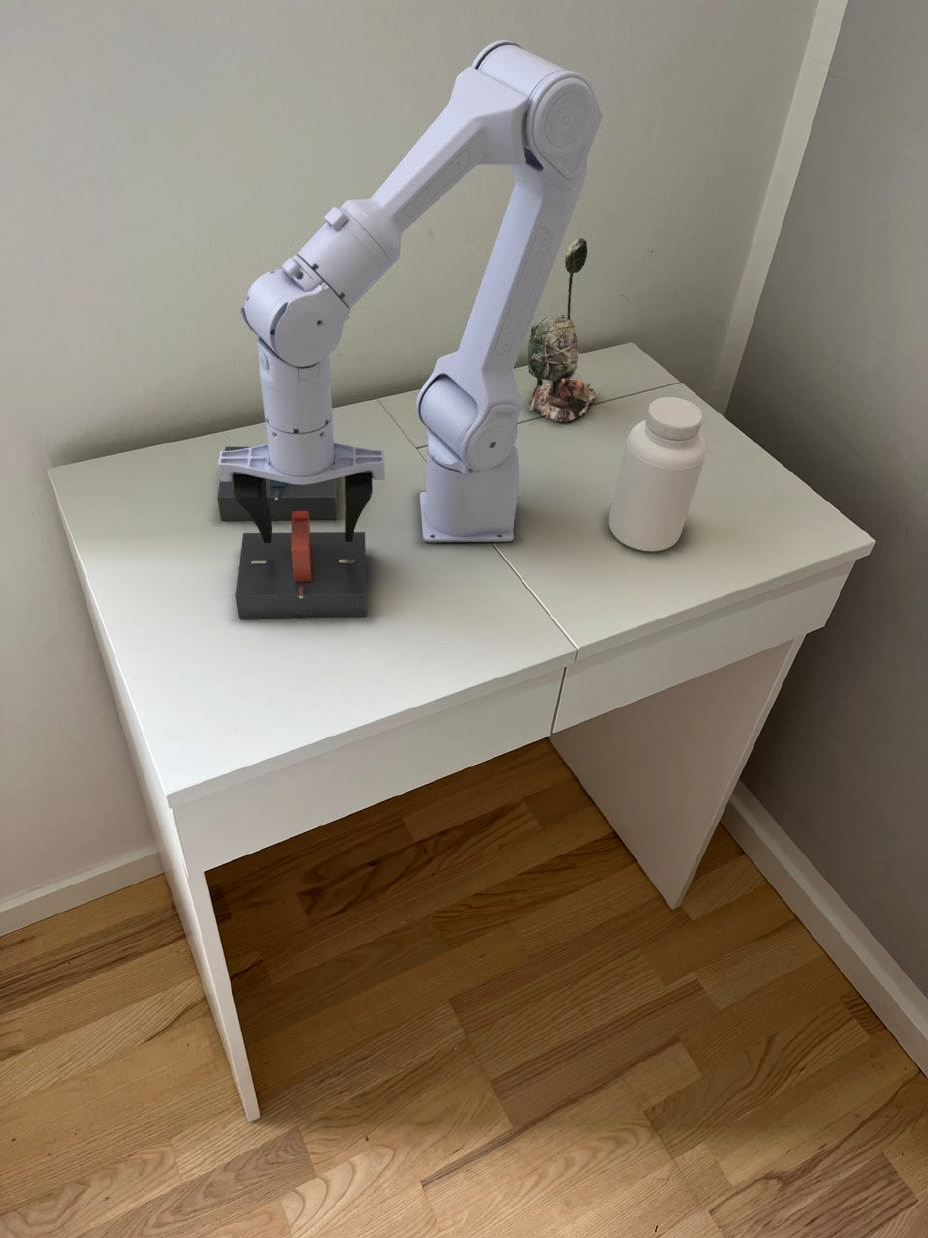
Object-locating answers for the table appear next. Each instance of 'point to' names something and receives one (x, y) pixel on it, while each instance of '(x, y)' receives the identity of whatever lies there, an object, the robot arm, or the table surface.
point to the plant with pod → (559, 356)
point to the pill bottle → (658, 476)
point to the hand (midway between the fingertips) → (308, 535)
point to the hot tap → (301, 546)
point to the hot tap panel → (326, 595)
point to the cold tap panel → (284, 500)
